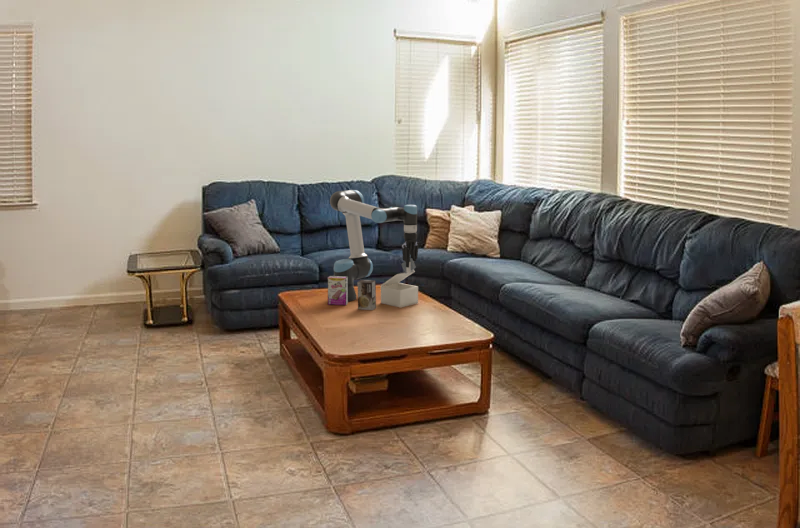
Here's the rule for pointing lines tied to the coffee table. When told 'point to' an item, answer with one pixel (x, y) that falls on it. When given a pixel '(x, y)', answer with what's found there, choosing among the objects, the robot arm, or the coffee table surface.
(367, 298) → the coffee box
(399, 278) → the flap
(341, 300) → the candy bar box
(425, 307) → the coffee table surface
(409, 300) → the carton
